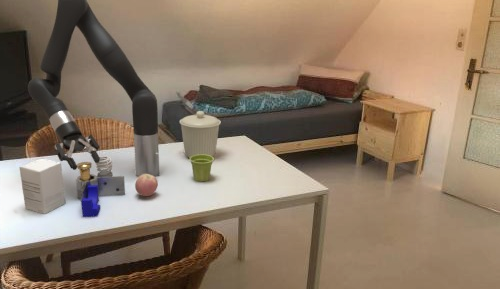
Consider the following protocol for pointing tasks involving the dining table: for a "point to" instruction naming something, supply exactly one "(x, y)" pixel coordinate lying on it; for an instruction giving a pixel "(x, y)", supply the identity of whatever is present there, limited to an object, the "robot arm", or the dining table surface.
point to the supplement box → (42, 185)
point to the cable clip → (91, 202)
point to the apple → (146, 184)
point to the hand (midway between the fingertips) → (87, 165)
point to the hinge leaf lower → (83, 192)
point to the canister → (200, 134)
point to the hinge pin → (84, 170)
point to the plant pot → (201, 166)
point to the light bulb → (102, 165)
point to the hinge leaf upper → (105, 184)
